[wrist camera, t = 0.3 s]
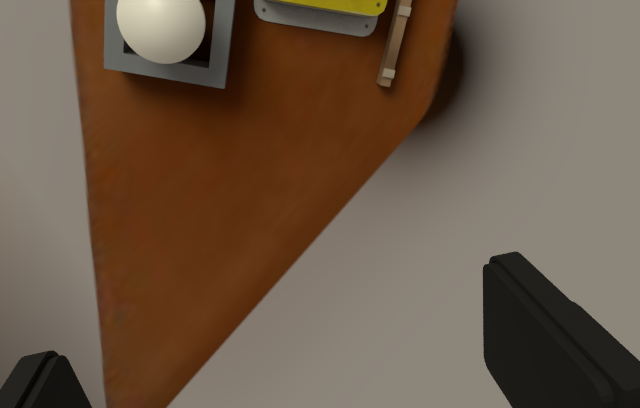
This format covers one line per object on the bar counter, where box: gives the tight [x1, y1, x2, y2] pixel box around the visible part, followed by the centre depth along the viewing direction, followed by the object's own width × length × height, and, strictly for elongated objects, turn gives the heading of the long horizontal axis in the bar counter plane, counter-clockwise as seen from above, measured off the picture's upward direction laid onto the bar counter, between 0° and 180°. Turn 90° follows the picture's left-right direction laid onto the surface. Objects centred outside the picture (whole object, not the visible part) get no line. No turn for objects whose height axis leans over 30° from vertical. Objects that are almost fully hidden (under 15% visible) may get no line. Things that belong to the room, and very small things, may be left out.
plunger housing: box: [104, 0, 236, 89], centre depth 32 cm, size 8×8×3 cm
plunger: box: [117, 0, 206, 64], centre depth 29 cm, size 5×5×4 cm
